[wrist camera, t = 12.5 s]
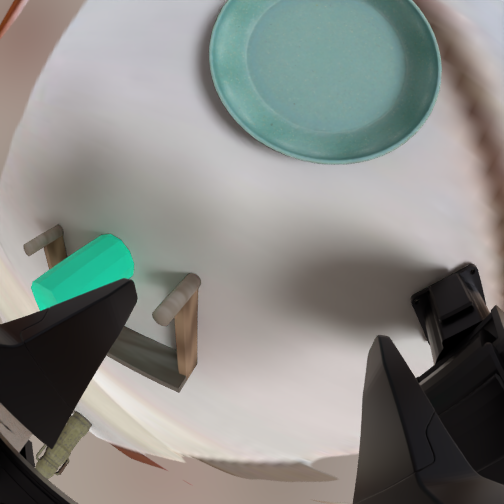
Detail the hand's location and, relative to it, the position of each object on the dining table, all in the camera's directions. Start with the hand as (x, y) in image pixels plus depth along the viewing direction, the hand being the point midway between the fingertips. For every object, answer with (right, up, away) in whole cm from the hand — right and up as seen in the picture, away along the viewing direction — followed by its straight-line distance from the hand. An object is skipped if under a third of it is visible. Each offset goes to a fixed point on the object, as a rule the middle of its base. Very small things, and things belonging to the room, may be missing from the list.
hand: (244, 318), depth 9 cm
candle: (-15, +2, +20) cm, 25 cm away
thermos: (-67, -64, +74) cm, 118 cm away
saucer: (+5, +15, +6) cm, 17 cm away
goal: (-16, -3, +23) cm, 28 cm away
